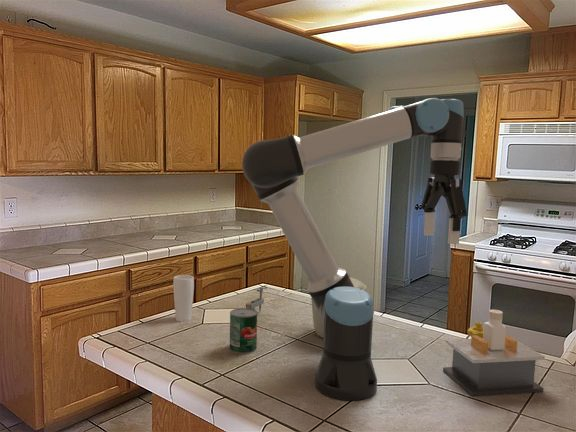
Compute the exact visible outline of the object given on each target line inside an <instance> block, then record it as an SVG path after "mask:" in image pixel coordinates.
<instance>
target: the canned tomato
mask: <svg viewBox="0 0 576 432" xmlns="http://www.w3.org/2000/svg"><path fill="white" fill-rule="evenodd" d="M257 333H258V311H257V310H255V308H254V309H249V308H246V307H242V308H241V307H240V308H235V309H232V310H230V311H229V351H231V352H232V353H235V354H250V353H254V352H256V350H257V348H258V347H257V344H258V342H257V341H258V334H257Z"/></svg>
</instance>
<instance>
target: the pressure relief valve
mask: <svg viewBox="0 0 576 432" xmlns="http://www.w3.org/2000/svg"><path fill="white" fill-rule="evenodd" d="M482 325H483V323H482V322H479V321H476V322H475V323H474V325H473V326H472V327H469V328H468V329H467V335H468V336H469V337H471V336H472V335H477V336H479V337H480V338H483V331H484V326H482Z"/></svg>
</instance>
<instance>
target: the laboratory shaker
mask: <svg viewBox="0 0 576 432" xmlns="http://www.w3.org/2000/svg"><path fill="white" fill-rule="evenodd" d="M470 337H471V338H465V339H464V338H461V339H459V338H458V339H457V338H456V339H445V343H446V344H447V345H448V346H450V347H451V348H452V363H451V366H448V367H446V366H445V367H442V372H443V373H445V374H446V375H447V376H448V377H449V378H450V379H451V380H453V382H455V383H456V384H457V385H458V386H459V387H461V388H462V389H463V390H464V391H465V392H466V393H467V394H469V396H471V397H485V396H499V395H514V394H515V395H517V394H518V395H519V394H529V393H530V394H531V393H532V394H533V393H543V392H544V387H543V386H541V385H540V384H538V383H537V382H535V372H536V362H537V361H542V360H544V361H545V359H546V357H545V355H543V354H541V353H540V352H538V351H536V350H534V349H533V348H530V347H529V346H527V345H526V344H523V343H522V342H520V341H518V340H517V339H515V338H513V337H512V336H509V335H507V333H506V334H505V347H504V349H503V350H490V349H488V342H487V341H485V340H484V339H483V338H480V337H479V336H477V335H472V336H470Z"/></svg>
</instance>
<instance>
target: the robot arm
mask: <svg viewBox="0 0 576 432" xmlns="http://www.w3.org/2000/svg"><path fill="white" fill-rule="evenodd" d="M464 110H465V109H464V102H463V101H462V100H460V99H456V98H443V99H439V98H437V97H430V98H425V99H422V100H421V101H418V102H414V103H412V104H408V105H395V106H394V105H393V106H391V107H390V108H389V109H388V111H385V112H381V113H377V114H373V115H370V116H367V117H364V118H360V119H357V120H353V121H350V122H347V123H343V124H340V125H336V126H332V127H330V128H327V129H323V130H320V131H316V132H313V133H309V134H306V135H303V136H299V137H298V136H297V135H295V134H292V135H288V136H284V137H278V138H273V139H263V140H258V141H256V142H254V143H253V144H251V145H250V146H249V147H248V148H247V149H246V150H245V151H244V153H243V156H242V159H241V160H242V161H241V167H242V168H241V170H242V172H243V175H244V177H245V178H246V179H247V181H248V182H249V183H250V185H251V187H252V188H253V190H254V192H255V194H256V197H257V198H258V199H259V201H260V202H263V203H265V204H268V206H269V208H270V210H271V212H272V214H273V216H274V218H275V219H276V221H277V224H278V225H279V227H280V228H281V230H282V233H283V235H284V236H285V238H286V240H287V242H288V244H289V247H290V248H291V249H292V252H293V253H294V255H295V258H296V259H297V261H298V263H299V265H300V267H301V269H302V270H303V273H304V274H305V276H306V277H307V278H306V279H307V280H308V285H307V291H308V293H309V296H310V298H312V300H313V301H314V303H315V305H316V307H317V309H318V311H319V313H320V315H321V318H322V321H323V323H324V338H323V347H322V349H323V350H322V356H321V358H320V361H319V363H318V367H317V369H316V371H315V375H314V386H315V389H316V390H317V391H319V393H321V394H323V395H324V396H327V397H329V398H332V399H335V400H342V401H361V400H365V399H368V398H371V397H373V396H374V395H375V394H376V392H377V389H378V388H377V387H378V378H377V373H376V371H375V368H374V364H373V360H372V347H373V345H372V344H373V343H372V342H373V326H374V325H373V323H374V322H373V321H374V314H375V307H374V299H373V297H372V295H371V294H370V293H369V292H368V291H366V290H365V291H364V290H360V289H359V288H355V287H354V285H353V283H352V281H351V279H350V278H351V277H350V275H349V274H348V272H347V270H346V269H344V268H341V267H339V266H338V265H337V263H336V260H335V259H334V257H333V255H332V253H331V252H330V250H329V247H328V246H327V244H326V241H325V240H324V238H323V236H322V234H321V232H320V230H319V227H318V226H317V224H316V222H315V220H314V219H313V216H312V215H311V212H310V211H309V209H308V206H307V205H306V203H305V201H304V199H303V198H302V195H301V194H300V191H299V189H298V186H299V182H300V179H299V177H301V176H303V175H305V174H306V173H307V171H308V170H309V169H311V168H315V167H319V166H323V165H325V164H329V163H332V162H336V161H338V160H342V159H345V158H348V157H352V156H355V155H358V154H362V153H366V152H369V151H372V150H375V149H378V148H381V147H385V146H389V145H392V144H395V143H399V142H402V141H405V140H409V139H411V138H415V137H431V144H430V158H431V159H432V160H431V161H430V163H429V174H430V175H434V176H432V177H431V176H430V177H428V178H427V184H426V189H425V192H424V195H423V199H422V202H421V205H420V208H421V210H423V212H424V220H423V221H424V223H423V224H424V225H423V236H424V237H425V236H426V237H427V236H428V237H429V236H430V237H431V236H432V237H433V236H435V221H436V207H437V205H438V203H439V202H440V199H441V197H443V198H444V199H445V202H446V204H447V207H448V210H449V213H450V215H449V216H448V235H447V244H450V245H451V244H452V245H455V244H456V245H459V244H460V234H461V223H462V219H463V218H464V217H467V216H468V212H467V206H466V202H465V198H464V191H463V180H462V178H456V177H455V176H459V175H460V174H461V171H460V170H461V162H460V160H458V159H461V154H462V149H463V148H462V142H463V141H462V139H463V128H464V120H465V117H464V115H465V114H464V113H465V111H464ZM312 300H311V301H312Z"/></svg>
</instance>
